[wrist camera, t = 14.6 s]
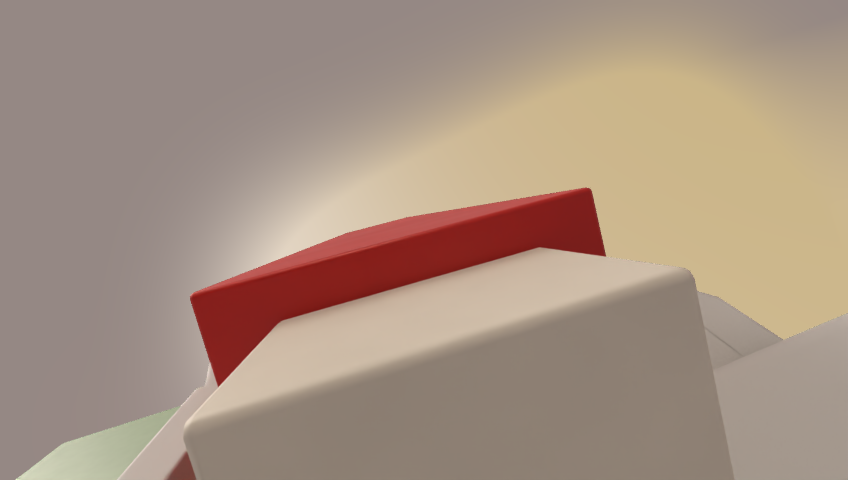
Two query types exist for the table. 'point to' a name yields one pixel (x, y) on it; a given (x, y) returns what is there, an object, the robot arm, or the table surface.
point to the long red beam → (460, 357)
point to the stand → (99, 452)
